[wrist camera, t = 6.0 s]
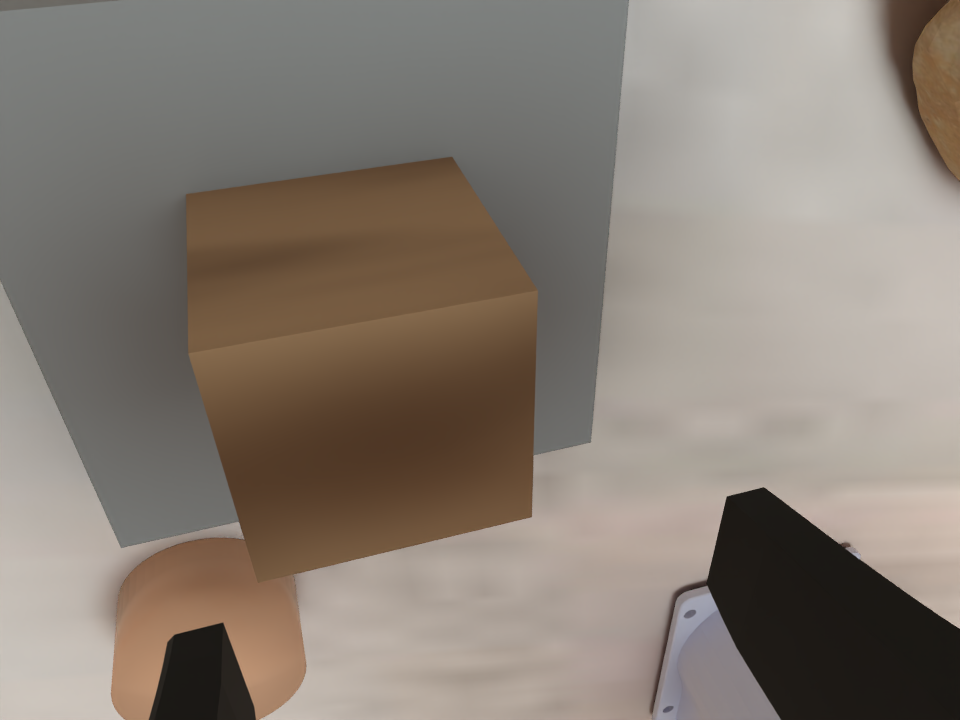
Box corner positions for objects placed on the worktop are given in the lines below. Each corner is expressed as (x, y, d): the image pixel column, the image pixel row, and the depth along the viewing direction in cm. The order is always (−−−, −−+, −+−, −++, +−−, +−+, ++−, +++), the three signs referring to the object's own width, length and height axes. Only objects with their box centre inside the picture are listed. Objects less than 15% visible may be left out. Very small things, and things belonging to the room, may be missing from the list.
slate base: (564, 396, 23) (590, 442, 22) (125, 488, 21) (121, 547, 19) (590, -68, 16) (633, -47, 15) (-83, -11, 14) (-116, 21, 12)
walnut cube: (461, 359, 19) (531, 516, 15) (241, 402, 18) (257, 582, 14) (452, 156, 16) (538, 290, 12) (186, 193, 15) (188, 353, 11)
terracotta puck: (305, 621, 26) (317, 705, 24) (144, 662, 25) (140, 754, 23) (279, 518, 23) (290, 603, 21) (94, 559, 22) (84, 654, 20)
